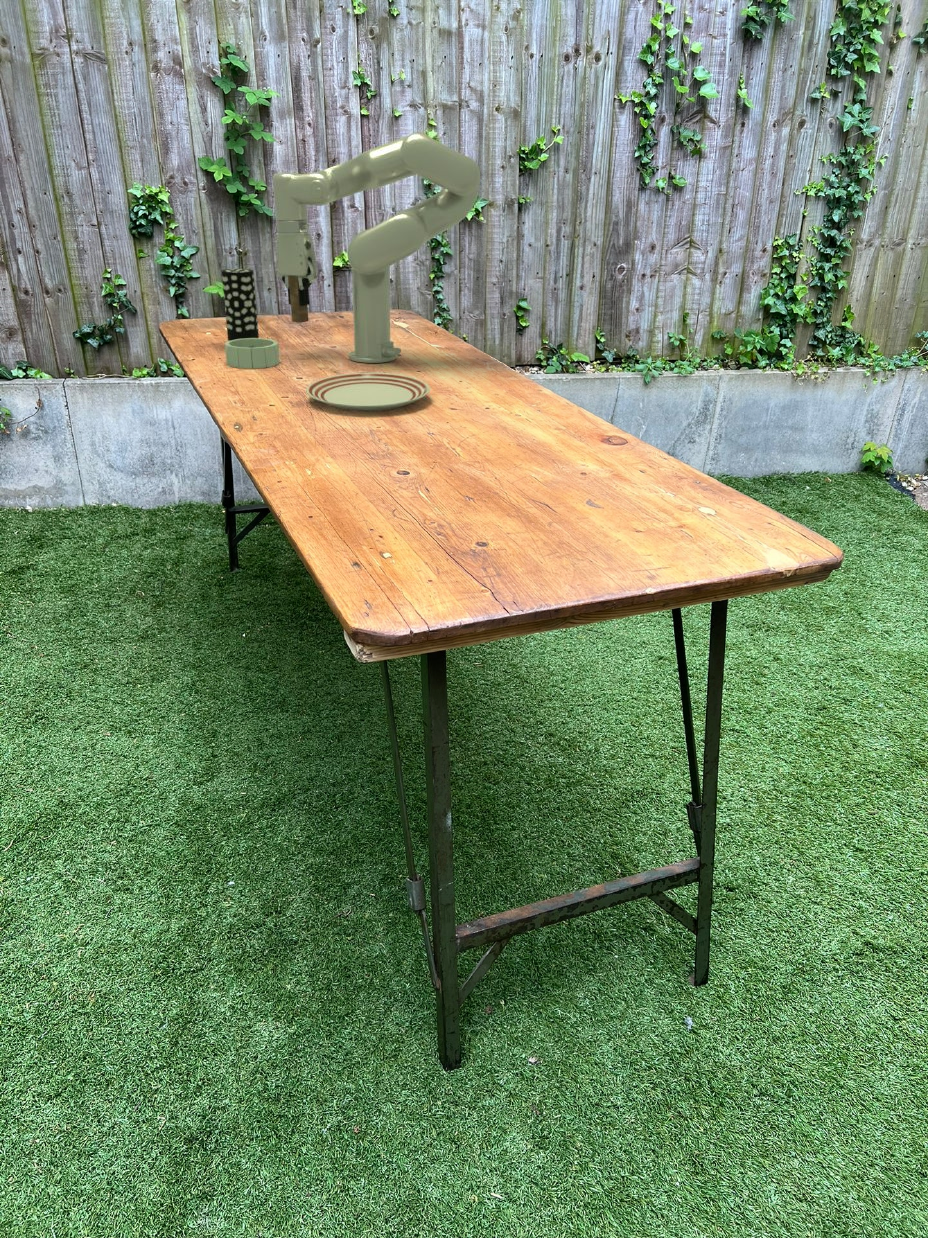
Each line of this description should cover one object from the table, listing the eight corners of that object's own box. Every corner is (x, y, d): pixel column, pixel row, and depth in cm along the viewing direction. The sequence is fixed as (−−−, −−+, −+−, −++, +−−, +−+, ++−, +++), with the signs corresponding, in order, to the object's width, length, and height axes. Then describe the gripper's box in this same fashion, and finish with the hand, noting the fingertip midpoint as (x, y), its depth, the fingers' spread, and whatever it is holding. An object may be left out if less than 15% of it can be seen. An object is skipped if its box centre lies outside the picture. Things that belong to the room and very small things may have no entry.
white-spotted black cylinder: (255, 351, 247) (249, 273, 238) (225, 350, 247) (217, 272, 238) (262, 344, 255) (256, 269, 245) (232, 344, 255) (225, 268, 245)
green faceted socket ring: (289, 362, 236) (288, 342, 234) (252, 370, 226) (250, 350, 224) (253, 355, 242) (252, 336, 240) (216, 363, 233) (214, 343, 230)
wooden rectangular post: (308, 321, 238) (304, 264, 232) (300, 322, 236) (296, 265, 229) (300, 320, 239) (295, 263, 233) (292, 321, 237) (287, 264, 231)
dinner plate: (412, 421, 190) (412, 406, 188) (288, 412, 194) (287, 396, 193) (441, 390, 214) (442, 376, 212) (330, 382, 218) (330, 368, 217)
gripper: (327, 227, 226) (332, 305, 234) (279, 225, 234) (286, 300, 243) (306, 230, 220) (312, 309, 229) (258, 227, 229) (266, 303, 237)
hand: (299, 303), depth 236 cm, fingers closed on wooden rectangular post, 3 cm apart
